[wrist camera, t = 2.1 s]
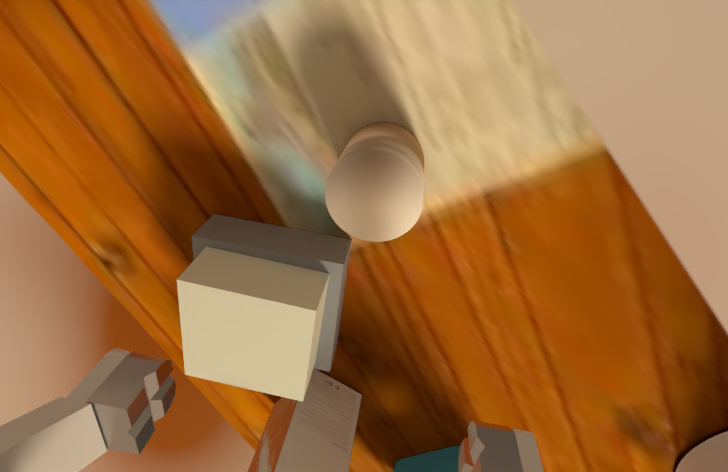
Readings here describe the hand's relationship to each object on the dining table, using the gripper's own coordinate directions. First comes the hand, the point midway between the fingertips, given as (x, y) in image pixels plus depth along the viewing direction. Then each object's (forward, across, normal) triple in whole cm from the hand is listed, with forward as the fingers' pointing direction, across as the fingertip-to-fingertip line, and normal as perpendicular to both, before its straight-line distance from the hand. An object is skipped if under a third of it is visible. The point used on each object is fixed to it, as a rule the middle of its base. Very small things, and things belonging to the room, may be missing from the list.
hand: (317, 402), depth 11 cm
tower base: (+20, +7, +12) cm, 24 cm away
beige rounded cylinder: (+19, 0, 0) cm, 19 cm away
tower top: (+16, +7, +12) cm, 21 cm away
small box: (+20, +3, +26) cm, 33 cm away
